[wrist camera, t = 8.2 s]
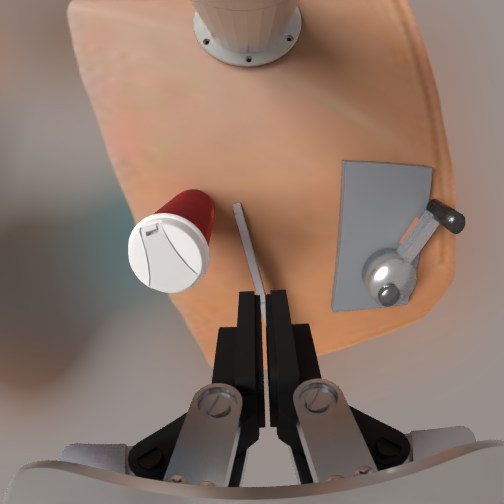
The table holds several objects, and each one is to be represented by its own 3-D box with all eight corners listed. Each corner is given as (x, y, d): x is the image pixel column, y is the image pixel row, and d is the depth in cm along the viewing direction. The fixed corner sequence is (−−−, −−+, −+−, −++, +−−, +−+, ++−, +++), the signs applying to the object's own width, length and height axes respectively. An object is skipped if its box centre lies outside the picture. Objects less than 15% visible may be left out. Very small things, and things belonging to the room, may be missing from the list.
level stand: (342, 160, 34) (345, 162, 33) (427, 165, 34) (432, 168, 32) (330, 306, 44) (332, 312, 42) (403, 299, 43) (407, 304, 42)
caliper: (276, 323, 45) (279, 351, 40) (270, 325, 46) (272, 353, 40) (240, 201, 37) (238, 217, 31) (231, 203, 37) (228, 220, 31)
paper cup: (156, 191, 36) (110, 232, 23) (212, 173, 35) (189, 207, 22) (176, 244, 39) (145, 305, 27) (230, 230, 38) (220, 289, 26)
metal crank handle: (421, 184, 33) (449, 199, 27) (448, 212, 35) (475, 230, 29) (352, 278, 39) (367, 306, 33) (384, 297, 41) (400, 324, 35)
